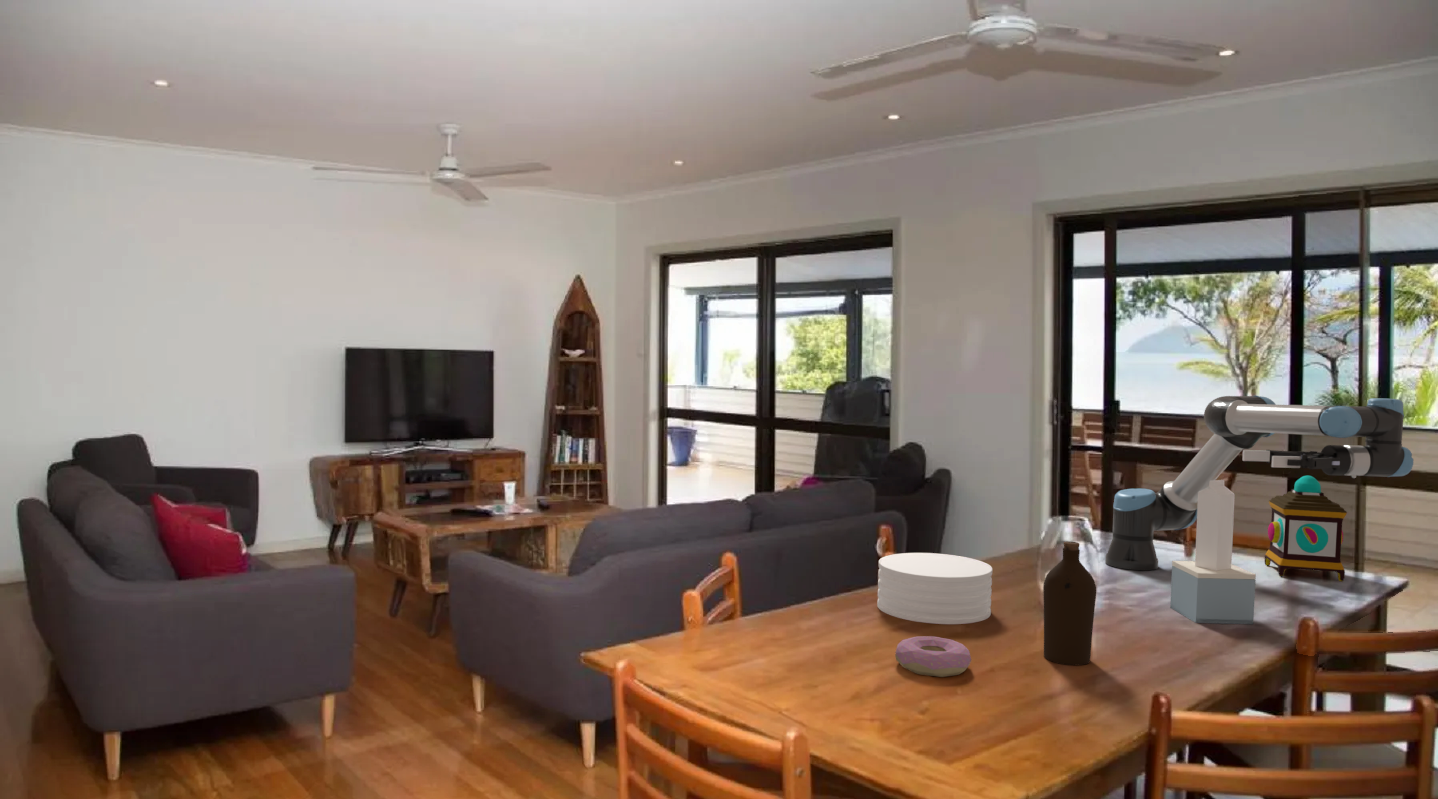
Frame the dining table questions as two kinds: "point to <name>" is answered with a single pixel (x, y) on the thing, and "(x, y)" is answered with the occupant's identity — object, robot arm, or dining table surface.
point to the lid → (1213, 571)
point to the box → (1212, 598)
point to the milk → (1215, 527)
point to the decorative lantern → (1306, 530)
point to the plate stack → (934, 588)
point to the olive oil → (1069, 609)
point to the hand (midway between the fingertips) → (1257, 458)
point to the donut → (933, 656)
